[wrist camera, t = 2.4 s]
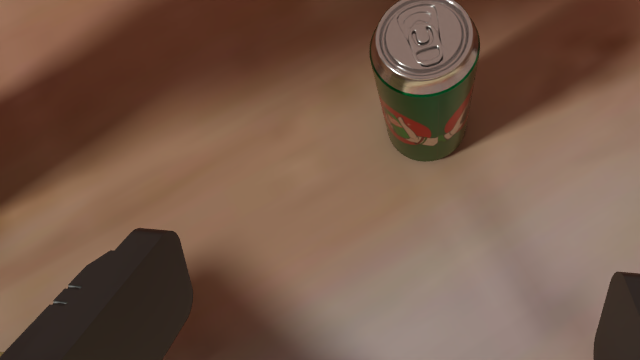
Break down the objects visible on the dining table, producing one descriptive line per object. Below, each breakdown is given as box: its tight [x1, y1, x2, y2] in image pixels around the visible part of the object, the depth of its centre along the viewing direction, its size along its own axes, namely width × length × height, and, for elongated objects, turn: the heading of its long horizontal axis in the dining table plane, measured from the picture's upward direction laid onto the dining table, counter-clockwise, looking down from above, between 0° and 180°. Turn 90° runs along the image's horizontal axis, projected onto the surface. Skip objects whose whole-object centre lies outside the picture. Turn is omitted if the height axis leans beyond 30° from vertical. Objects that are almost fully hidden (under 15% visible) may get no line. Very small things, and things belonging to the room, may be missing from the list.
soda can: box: [370, 0, 480, 161], centre depth 29 cm, size 5×5×12 cm
